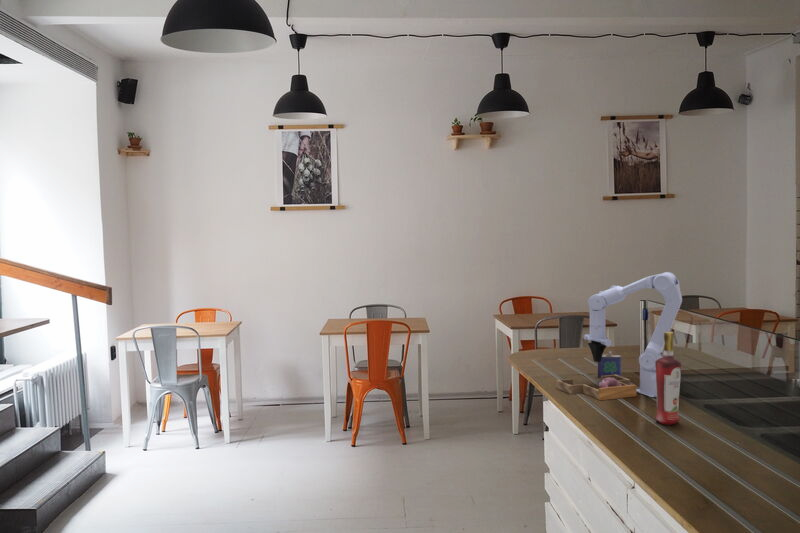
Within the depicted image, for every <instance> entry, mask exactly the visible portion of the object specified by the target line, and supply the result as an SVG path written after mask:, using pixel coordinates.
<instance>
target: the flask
mask: <svg viewBox="0 0 800 533" xmlns="http://www.w3.org/2000/svg"><path fill="white" fill-rule="evenodd" d="M615 374H616V375H618V376H621V377H622V356H621V355H618V354H617V355H616V354H615V355H613V352H612V351H608V353H607V354H605V353H604V354H602V358H601V361H600V362H597V378H598V379H600V380H601V376H605V375H615Z"/></svg>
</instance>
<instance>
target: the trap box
mask: <svg viewBox="0 0 800 533" xmlns="http://www.w3.org/2000/svg"><path fill="white" fill-rule="evenodd" d="M608 377H610V378H613V377H614V378H615V379H616V380H617V381H618V382H619V383H620V384H621V385H622V386H616V387H609V386H608V387H606V388H600V387H599V388H595V387H593V386H590V385H587V384H585V383H579V384H578V383H577V384H574V379H573V378H565V379H556V382H555V383H556V386H555V387H556V389H557V390H560V391H562V392H564V393H566V394H568V395H574V394H575V395H576V394H585V395H587V396H589V397H592V398H594V399H597V400H599V401H606V400H616V399H624V398H631V397H633V398H634V397H637V393H638V392H637V389H638V388H637V384H631V379H630V378H626V377H624V376H622V375H621V376H618V375H616V374H615V375H605V376H601V379H600V382H601V381H602V380H603V379H605V378H608Z"/></svg>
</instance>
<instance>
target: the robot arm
mask: <svg viewBox="0 0 800 533" xmlns="http://www.w3.org/2000/svg"><path fill="white" fill-rule="evenodd" d="M643 289H649V290H650V289H651V290H653V289H655V290H656V291H657V292H658V293H660V294H661V296H662V297H663V300H664V301H665V303H664V306H663V309H662V310H661V313H660V316H659V318H658V321H657V323H656V326H655V328H654V331H653V333H652V335H651V338H650V340H649V343H648V344H647V346H646V348H645V350H644V351H643V352H642V353H641V354H640V355H639V357H638V364H639V389H638V388H637V393H639V394H641V395H645V396H647V397H650V398H657V389H656V365H655V361H656V360H658V359H659V358H662V357H663V353H664V344H665V342H664V332H671V329H672V327H673V324H674V322H675V320H676V317H677V316H678V313H679V310H680V307H681V306H682V303H683V295H682V291H681V287H680V281H679V279H678V278H677V277H676V275H675V274H674V273H673V272H671V271H665V272H662V273H657V274H653V275H649V276H645V277H644V278H642V279H638V280H637V281H634V282H632V283H630V284H627V285H625V286H620V285H614V284H613V285H611V286H610V288H609V289H606V290H600V291H599V292H598V293H596V294H593V295H590V297H589V298H588V300H587V306H588V307H589V333H588V334H584V335H583V340H586V341H587V340H588V341H590V342H587V345H588V348H589V349H590V351H591V355H592V359H593V362H595V363H598V362H600V361H601V358H602V354H603V353H604V351H605V349H606V348H607V347H611V346H612V340H611V339H609V338H607V337H606V317H607V316H606V307H609V306H612V305H614V304H617V303H619V302H621V301H624V300H625V299H626V297H627V295H630V294H633V293H636V292H638V291H640V290H643ZM603 355H604V354H603Z"/></svg>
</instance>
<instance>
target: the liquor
mask: <svg viewBox="0 0 800 533" xmlns="http://www.w3.org/2000/svg"><path fill="white" fill-rule="evenodd" d="M673 340H674V332H673V331H670V332H664V342H665V344H664V349H663V352H662V358H659V359H658V360H656V361H655V365H656V389H657V397H656V415H655V420H657V421H658V422H659V423H660V424H662V425H665V426H666V425H667V426H673V425H676V424H677V423H678V422H679V421H680V418H679V404H680V403H679V401H680V388H681V386H680V385H681V372H682V362H681V361H680V360H679V359H676V358H675V357H674V347H673V342H674V341H673Z"/></svg>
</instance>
